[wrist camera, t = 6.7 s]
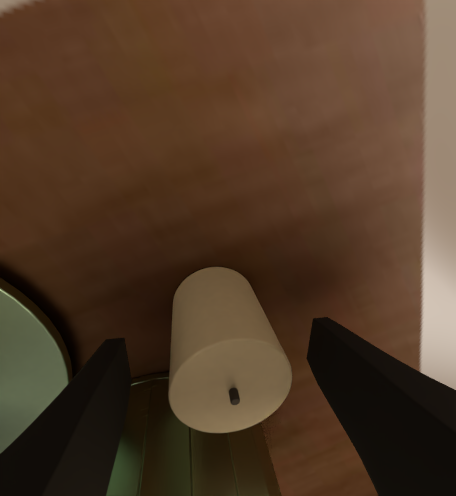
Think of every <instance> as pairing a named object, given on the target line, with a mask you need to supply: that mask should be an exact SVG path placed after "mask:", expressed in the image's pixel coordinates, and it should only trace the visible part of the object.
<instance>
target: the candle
mask: <svg viewBox="0 0 456 496" xmlns="http://www.w3.org/2000/svg"><path fill="white" fill-rule="evenodd" d="M291 383H292V369H291V365H290V363H289V360H288V358H287V356H286V354H285V352H284V350H283V348H282V346H281V345H280V343H279V341H278V339H277V337H276V335H275V333H274V331H273V329H272V327H271V325H270V323H269V321H268V319H267V317H266V315H265V313H264V311H263V309H262V307H261V305H260V303H259V301H258V299H257V297H256V295H255V293H254V291H253V289H252V288H251V286H250V284H249V282H248V281H247V280H246V278H245V277H243V276H242V275H241V274H240V273H238V272H236V271H234V270H232V269H228V268H224V267H209V268H205V269H201V270H199V271H197V272H194V273H193V274H191V275H190V276H188V277H187V278H186V279H185V280H184V281H183V282H182V283H181V284H180V286H179V287H178V289H177V290H176V293H175V295H174V299H173V313H172V333H171V353H170V372H169V392H168V397H169V403H170V406H171V409H172V410H173V412H174V414H175V415H176V416H177V418H178V419H179V420H180V421H182V422H183V423H184V424H186V425H187V426H189V427H191V428H193V429H196V430H199V431H203V432H209V433H227V432H233V431H238V430H242V429H245V428H248V427H251V426H253V425H255V424H257V423H259V422H261V421H262V420H264V419H266V418H267V417H268V416H270V415H271V414H272V413H273V412H274V411H276V410H277V409H278V407H279V406H280V405H281V404H282V403H283V401H284V400H285V398H286V397H287V395H288V393H289V390H290V387H291Z"/></svg>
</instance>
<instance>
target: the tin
mask: <svg viewBox="0 0 456 496" xmlns="http://www.w3.org/2000/svg"><path fill="white" fill-rule="evenodd" d="M168 392H169V372H164V373H157V374H150V375H146V376H142V377H138V378H134V379H131V388H130V396H129V403H128V409H127V414H126V418H125V423H124V427H123V431H122V435H121V439H120V443H119V447H118V451H117V455H116V458H115V462H114V466H113V470H112V474H111V478H110V482H109V486H108V490H107V495H106V496H282V495H281V492H280V488H279V485H278V481H277V478H276V475H275V471H274V468H273V464H272V461H271V457H270V454H269V450H268V447H267V444H266V440H265V437H264V433H263V430H262V426H261V423H260V422H259V423H257V424H255V425H253V426H251V427H248V428H245V429H242V430H238V431H233V432H227V433H209V432H203V431H199V430H196V429H193V428H191V427H189V426H187V425H186V424H184V423H183V422H182V421H180V420H179V419H178V418H177V416H176V415H175V414H174V412H173V410H172V409H171V406H170V403H169V397H168Z"/></svg>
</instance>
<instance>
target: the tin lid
mask: <svg viewBox="0 0 456 496" xmlns="http://www.w3.org/2000/svg"><path fill="white" fill-rule="evenodd" d="M72 376H73V375H72V367H71V360H70V357H69V354H68V350H67V347H66V345H65V343H64V341H63V339H62V337H61V335H60V333H59V332H58V331H57V329H56V328H55V326H54V325H53V323H52V322H51V321H50V319H49V318H48V317H47V316H46V315H45V314H44V313H43V312H42V311H41V309H40V308H39V307H38V306H37V305H36V304H35V303H33V302H32V301H31V300H30V299H29V298H28V297H26V296H25V295H24V294H23V293H22V292H21V291H19V290H18V289H16V288H15V287H13V286H12V285H10V284H9V283H7V282H6V281H4V280H3V279H2V278H0V454H1V453H2V452H3V451H4V450H5V449H6V448H7V447H8V446H9V445H10V444H11V443H12V442H13V441H14V440H15V439H16V438H17V437H18V436H19V435H20V434H21V433H22V432H23V431H24V430H25V429H26V428H27V427H28V426H29V425H30V424H31V423H32V422H33V421H34V420H35V419H36V418H37V417H38V416H39V415H40V414H41V413H42V412H43V411H44V410H45V409H46V408H47V406H48V405H49V404H50V403H51V402H52V401H53V400H54V399H55V398H56V397H57V396H58V395H59V394H60V393H61V391H62V390H63V389H64V388H65V387H66V386H67V385H68V383H69V382H70V381H71V380H72Z"/></svg>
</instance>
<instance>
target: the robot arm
mask: <svg viewBox="0 0 456 496" xmlns="http://www.w3.org/2000/svg"><path fill="white" fill-rule="evenodd" d="M307 360H308V363H309V365H310V367H311V370H312V372H313V374H314V377H315V379H316V381H317V383H318V385H319V387H320V389H321V390H322V392H323V394H324V396H325V397H326V399H327V401H328V402H329V404H330V406H331V408H332V409H333V411H334V413H335V414H336V416H337V418H338V419H339V421H340V423H341V425H342V426H343V428H344V430H345V431H346V433H347V435H348V436H349V438H350V440H351V442H352V443H353V445H354V447H355V449H356V451H357V452H358V454H359V456H360V458H361V460H362V462H363V464H364V466H365V468H366V470H367V472H368V474H369V476H370V478H371V480H372V482H373V485H374V487H375V489H376V491H377V493H378V495H379V496H456V390H454V389H452V388H450V387H448V386H446V385H444V384H442V383H440V382H438V381H436V380H434V379H432V378H430V377H428V376H426V375H424V374H422V373H420V372H419V371H417V370H415V369H413V368H411V367H410V366H408V365H406V364H404V363H402V362H401V361H399V360H397V359H395V358H394V357H392V356H390V355H389V354H387V353H385V352H384V351H382V350H380V349H379V348H377V347H375V346H374V345H372V344H370V343H369V342H367V341H366V340H364V339H362V338H361V337H359V336H358V335H356V334H354V333H353V332H351V331H350V330H348V329H346V328H345V327H343V326H342V325H340V324H338V323H337V322H335V321H333V320H331V319H330V318H328V317H324V318H314V319H313V322H312V329H311V335H310V341H309V347H308V353H307ZM130 388H131V375H130V369H129V363H128V357H127V351H126V345H125V339H124V338H117V339H107V340H105V341H104V342H103V343H102V345H101V346H100V347H99V348H98V349H97V351H96V352H95V353H94V354H93V355H92V357H91V358H90V359H89V360H88V361H87V363H86V364H85V365H84V366H83V367H82V369H81V370H80V371H79V372H78V373H77V374H76V376H75V377H74V378H73V379H72V380H71V381H70V382H69V383H68V385H67V386H66V387H65V388H64V389H63V390H62V391H61V393H60V394H59V395H58V396H57V397H56V398H55V399H54V400H53V401H52V402H51V403H50V404H49V405H48V406H47V408H46V409H45V410H44V411H43V412H42V413H41V414H40V415H39V416H38V417H37V418H36V419H35V420H34V421H33V422H32V423H31V424H30V425H29V426H28V427H27V428H26V429H25V430H24V431H23V432H22V433H21V434H20V435H19V436H18V437H17V438H16V439H15V440H14V441H13V442H12V443H11V444H10V445H9V446H8V447H7V448H6V449H5V450H4V451H3V452H2V453H1V454H0V496H106V495H107V490H108V486H109V482H110V478H111V474H112V470H113V466H114V462H115V458H116V455H117V451H118V447H119V443H120V439H121V435H122V431H123V427H124V423H125V418H126V414H127V409H128V403H129V396H130Z"/></svg>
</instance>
